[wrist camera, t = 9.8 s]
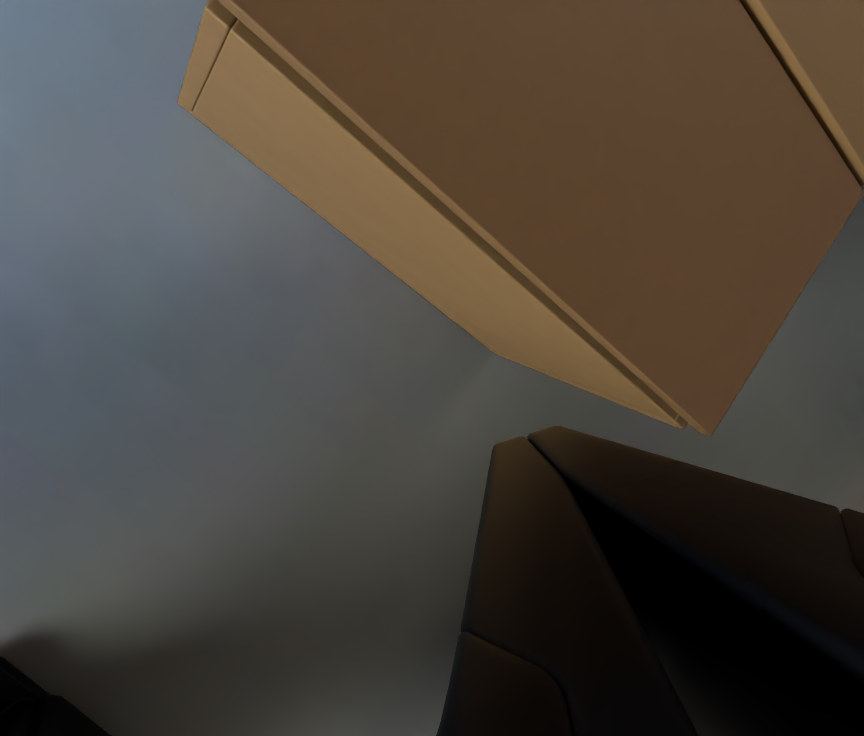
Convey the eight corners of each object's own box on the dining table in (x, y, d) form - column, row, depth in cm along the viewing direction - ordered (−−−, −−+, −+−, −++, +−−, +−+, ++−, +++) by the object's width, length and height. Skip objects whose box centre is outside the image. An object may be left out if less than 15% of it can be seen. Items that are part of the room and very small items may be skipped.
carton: (495, 354, 21) (711, 441, 13) (176, 102, 16) (208, -10, 8) (704, 48, 22) (1031, -48, 14) (463, -290, 17) (764, -764, 9)
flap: (698, 432, 14) (711, 437, 13) (213, -3, 8) (215, -12, 8) (849, 193, 14) (865, 192, 14) (478, -362, 9) (491, -384, 8)
